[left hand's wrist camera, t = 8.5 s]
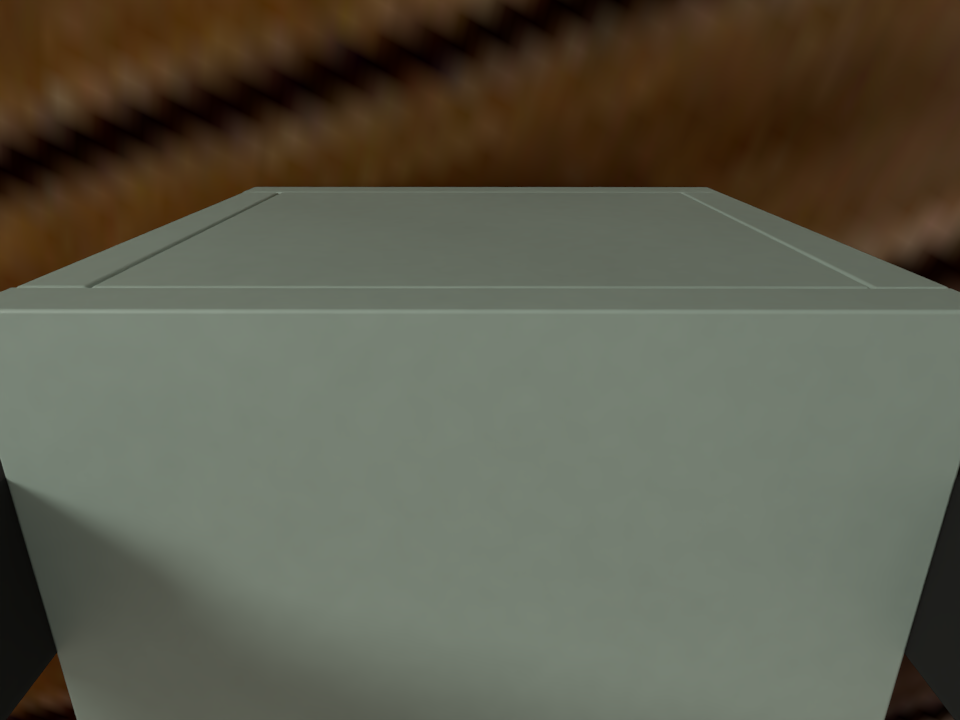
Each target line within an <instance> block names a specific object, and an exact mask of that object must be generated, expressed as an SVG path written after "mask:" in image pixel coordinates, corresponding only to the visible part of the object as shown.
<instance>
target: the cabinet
mask: <svg viewBox="0 0 960 720" xmlns="http://www.w3.org/2000/svg"><path fill="white" fill-rule="evenodd" d="M0 459H1V463H2V466H3V469H4V473H5V476H6V480H7V483H8V486H9V490H10V493H11V497H12V500H13V503H14V507H15V510H16V514H17V517H18V521H19V524H20V527H21V531H22V534H23V538H24V541H25V544H26V548H27V551H28V555H29V558H30V561H31V565H32V568H33V572H34V575H35V578H36V582H37V585H38V589H39V592H40V595H41V599H42V602H43V606H44V609H45V612H46V616H47V619H48V623H49V626H50V629H51V633H52V636H53V640H54V643H55V647H56V650H57V653H58V657H59V660H60V664H61V667H62V670H63V674H64V677H65V681H66V684H67V687H68V691H69V694H70V698H71V701H72V704H73V708H74V711H75V715H76V718H77V720H885V717H886V713H887V710H888V706H889V703H890V700H891V696H892V693H893V690H894V686H895V683H896V679H897V676H898V673H899V669H900V666H901V662H902V659H903V656H904V652H905V649H906V646H907V642H908V639H909V635H910V632H911V629H912V625H913V622H914V619H915V615H916V612H917V608H918V605H919V602H920V598H921V595H922V592H923V588H924V585H925V581H926V578H927V575H928V571H929V568H930V564H931V561H932V558H933V554H934V551H935V548H936V544H937V541H938V537H939V534H940V531H941V527H942V524H943V521H944V517H945V514H946V510H947V507H948V504H949V500H950V497H951V493H952V490H953V487H954V483H955V480H956V477H957V473H958V470H959V466H960V292H958V291H955V290H953V289H949V288H948V287H945V286H943V285H941V284H938V283H936V282H933V281H931V280H929V279H926V278H924V277H921V276H919V275H917V274H914V273H912V272H909V271H907V270H905V269H902V268H900V267H897V266H895V265H893V264H890V263H888V262H885V261H883V260H881V259H878V258H876V257H873V256H871V255H869V254H866V253H864V252H861V251H859V250H857V249H854V248H852V247H849V246H847V245H845V244H842V243H840V242H837V241H835V240H833V239H830V238H828V237H825V236H823V235H821V234H818V233H816V232H813V231H811V230H809V229H806V228H804V227H801V226H799V225H796V224H794V223H792V222H789V221H787V220H784V219H782V218H780V217H777V216H775V215H772V214H770V213H768V212H765V211H763V210H760V209H758V208H756V207H753V206H751V205H748V204H746V203H744V202H741V201H739V200H736V199H734V198H732V197H729V196H727V195H724V194H722V193H720V192H717V191H715V190H712V189H710V188H707V187H254V188H252V189H249V190H247V191H245V192H243V193H241V194H239V195H236V196H234V197H232V198H229V199H227V200H224V201H222V202H220V203H217V204H215V205H212V206H210V207H208V208H205V209H203V210H200V211H198V212H196V213H193V214H191V215H188V216H186V217H184V218H181V219H179V220H176V221H174V222H172V223H169V224H167V225H164V226H162V227H160V228H157V229H155V230H152V231H150V232H148V233H145V234H143V235H140V236H138V237H136V238H133V239H131V240H128V241H126V242H124V243H121V244H119V245H116V246H114V247H112V248H109V249H107V250H104V251H102V252H100V253H97V254H95V255H92V256H90V257H88V258H85V259H83V260H80V261H78V262H76V263H73V264H71V265H68V266H66V267H64V268H61V269H59V270H56V271H54V272H52V273H49V274H47V275H44V276H42V277H40V278H37V279H35V280H32V281H30V282H28V283H25V284H23V285H21V286H18V287H17V288H10V289H7V290H5V291H2V292H0Z"/></svg>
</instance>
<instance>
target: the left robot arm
mask: <svg viewBox="0 0 960 720" xmlns="http://www.w3.org/2000/svg"><path fill="white" fill-rule="evenodd" d="M56 653H57V650H56V647H55V643H54V640H53V636H52V633H51V629H50V626H49V623H48V619H47V616H46V612H45V609H44V606H43V602H42V599H41V595H40V592H39V589H38V585H37V582H36V578H35V575H34V572H33V568H32V565H31V561H30V558H29V555H28V551H27V548H26V544H25V541H24V538H23V534H22V531H21V527H20V524H19V521H18V517H17V514H16V510H15V507H14V503H13V500H12V497H11V493H10V490H9V486H8V483H7V480H6V476H5V473H4V469H3V466H2V463H1V459H0V720H6V719H7V718H8V716H9V715H10V714H11V712H12V711H13V710H14V708H15V707H16V706H17V704H18V703H19V702H20V700H21V699H22V698H23V697H24V695H25V694H26V693H27V691H28V690H29V689H30V687H31V686H32V685H33V683H34V682H35V681H36V679H37V678H38V677H39V675H40V674H41V673H42V671H43V670H44V669H45V668H46V666H47V665H48V664H49V662H50V661H51V660H52V658H53V657H54V656H55V654H56ZM904 653H905V655H906V656H907V657H908V659H909V660H910V661H911V662H912V664H913V665H914V666H915V668H916V669H917V670H918V672H919V673H920V674H921V676H922V677H923V678H924V680H925V681H926V682H927V684H928V685H929V686H930V688H931V689H932V690H933V691H934V693H935V694H936V695H937V697H938V698H939V699H940V701H941V702H942V703H943V705H944V706H945V707H946V709H947V710H948V711H949V713H950V714H951V715H952V717H953V718H954V719H955V720H960V466H959V470H958V473H957V477H956V480H955V483H954V487H953V490H952V493H951V497H950V500H949V504H948V507H947V510H946V514H945V517H944V521H943V524H942V527H941V531H940V534H939V537H938V541H937V544H936V548H935V551H934V554H933V558H932V561H931V564H930V568H929V571H928V575H927V578H926V581H925V585H924V588H923V592H922V595H921V598H920V602H919V605H918V608H917V612H916V615H915V619H914V622H913V625H912V629H911V632H910V635H909V639H908V642H907V646H906V649H905V652H904Z"/></svg>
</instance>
